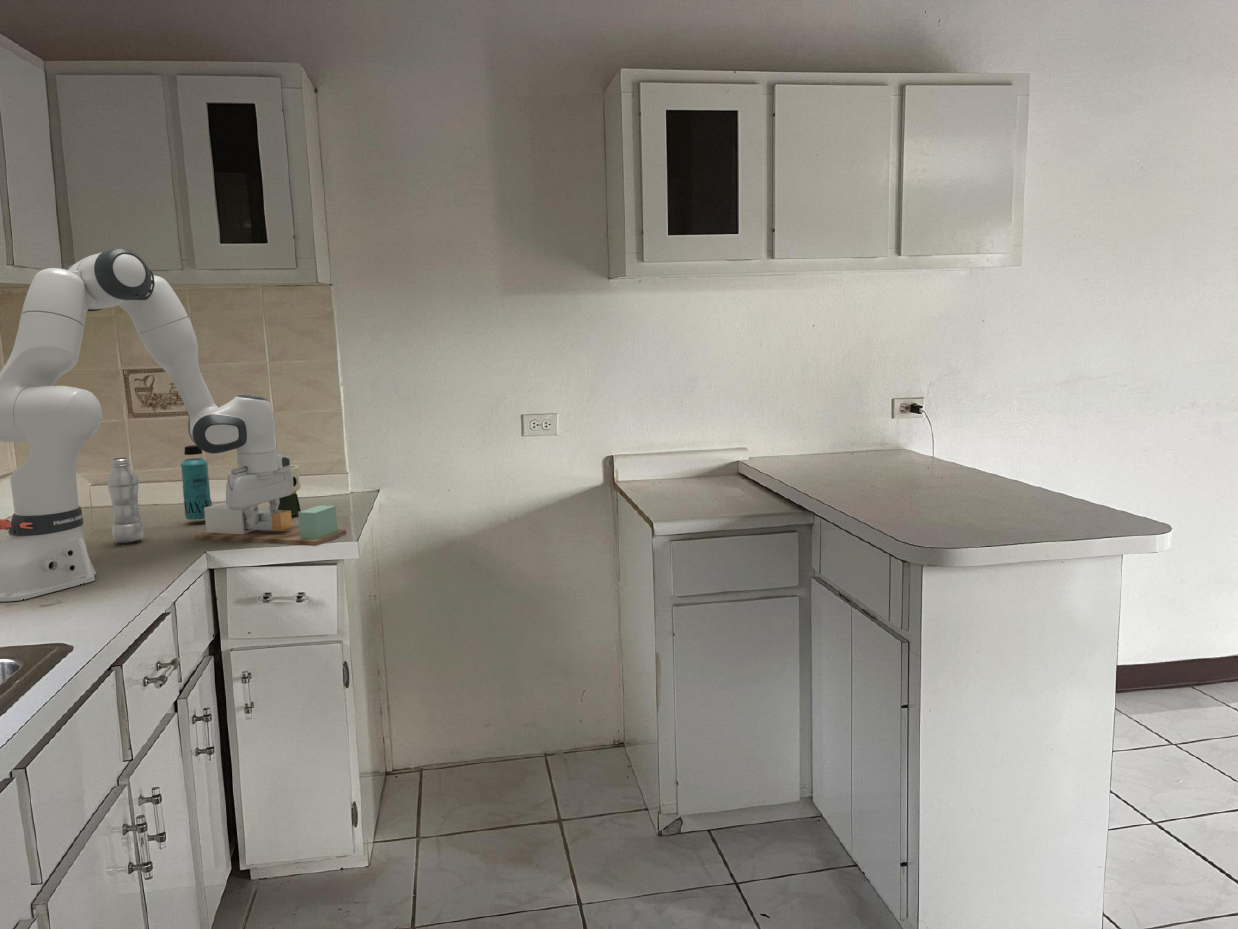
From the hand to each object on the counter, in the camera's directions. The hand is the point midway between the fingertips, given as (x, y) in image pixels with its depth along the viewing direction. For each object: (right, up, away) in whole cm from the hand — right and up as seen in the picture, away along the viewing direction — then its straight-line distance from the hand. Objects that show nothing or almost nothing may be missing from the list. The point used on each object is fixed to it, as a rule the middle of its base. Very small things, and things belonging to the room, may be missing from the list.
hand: (263, 521), depth 224 cm
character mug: (-2, 0, +24) cm, 24 cm away
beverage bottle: (-23, -2, +18) cm, 29 cm away
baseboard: (+2, -4, 0) cm, 4 cm away
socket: (+15, -3, -4) cm, 16 cm away
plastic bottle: (-31, -5, -2) cm, 31 cm away
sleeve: (-8, -2, +3) cm, 9 cm away
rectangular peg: (-3, -2, +1) cm, 4 cm away
